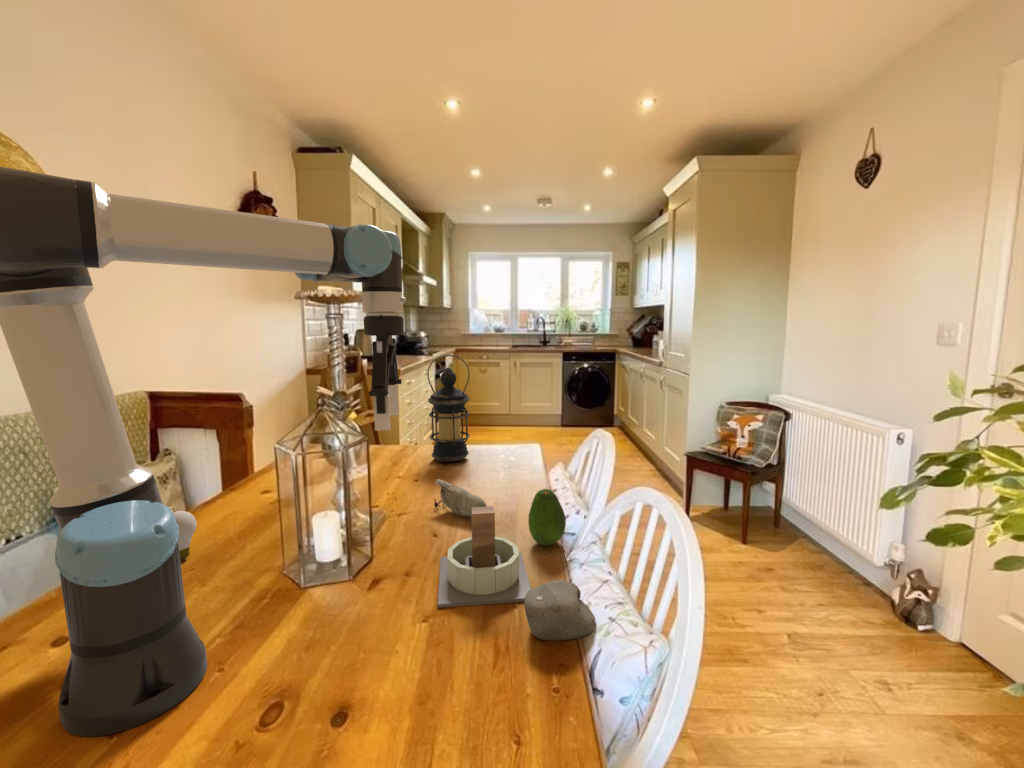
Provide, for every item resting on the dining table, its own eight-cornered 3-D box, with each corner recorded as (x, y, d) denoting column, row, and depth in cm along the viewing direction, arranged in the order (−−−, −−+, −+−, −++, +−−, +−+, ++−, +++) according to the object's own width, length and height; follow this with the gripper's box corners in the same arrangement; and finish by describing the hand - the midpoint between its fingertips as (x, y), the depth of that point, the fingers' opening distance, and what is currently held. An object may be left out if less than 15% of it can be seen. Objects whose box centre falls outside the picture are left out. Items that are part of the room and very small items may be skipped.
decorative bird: (477, 528, 110) (477, 496, 109) (430, 510, 120) (429, 482, 119) (493, 520, 114) (493, 490, 113) (446, 504, 124) (445, 476, 123)
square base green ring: (533, 600, 82) (533, 572, 81) (437, 607, 80) (436, 578, 79) (521, 554, 98) (521, 530, 97) (440, 559, 96) (440, 534, 95)
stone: (604, 645, 71) (573, 589, 69) (550, 672, 71) (518, 617, 70) (592, 609, 80) (565, 558, 78) (544, 633, 80) (516, 583, 79)
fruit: (520, 544, 102) (520, 489, 100) (544, 532, 108) (544, 480, 106) (549, 557, 97) (550, 499, 95) (573, 543, 102) (573, 488, 101)
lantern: (423, 464, 157) (419, 356, 152) (436, 453, 169) (433, 353, 165) (466, 466, 154) (464, 357, 149) (475, 455, 167) (474, 353, 162)
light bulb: (182, 569, 93) (176, 519, 91) (156, 565, 94) (150, 516, 92) (207, 554, 98) (202, 507, 97) (182, 551, 100) (177, 505, 98)
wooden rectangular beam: (495, 576, 87) (494, 512, 86) (473, 577, 87) (472, 514, 85) (493, 567, 90) (493, 506, 89) (472, 569, 90) (471, 507, 88)
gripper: (395, 314, 82) (399, 436, 85) (409, 314, 107) (412, 409, 110) (349, 314, 81) (355, 438, 84) (374, 314, 106) (378, 410, 109)
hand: (387, 422), depth 97 cm, fingers open, 13 cm apart
